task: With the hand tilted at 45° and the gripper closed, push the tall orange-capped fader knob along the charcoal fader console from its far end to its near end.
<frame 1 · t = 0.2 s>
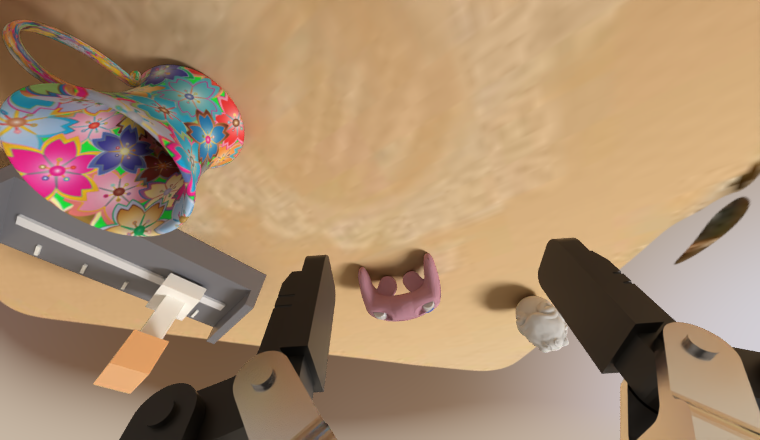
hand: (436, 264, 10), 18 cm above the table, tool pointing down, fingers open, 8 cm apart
fader console: (153, 249, 33), on the table
mug: (187, 102, 24), on the table
fader knob: (154, 329, 28), point 8 cm above the table, slide at 0.0 cm
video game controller: (398, 271, 37), on the table
frog figurine: (527, 299, 41), on the table
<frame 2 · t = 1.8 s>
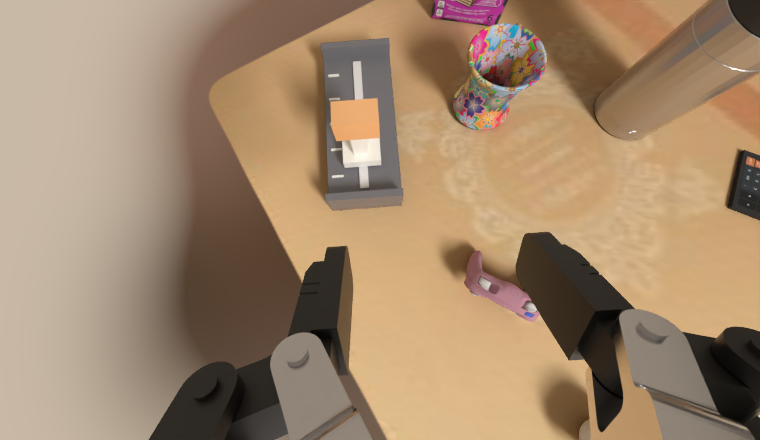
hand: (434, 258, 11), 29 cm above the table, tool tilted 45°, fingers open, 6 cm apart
candy bar box: (465, 14, 48), on the table
fader console: (362, 133, 43), on the table
mug: (481, 102, 44), on the table
fader knob: (358, 135, 34), point 8 cm above the table, slide at 0.0 cm
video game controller: (495, 284, 38), on the table
frog figurine: (589, 434, 34), on the table
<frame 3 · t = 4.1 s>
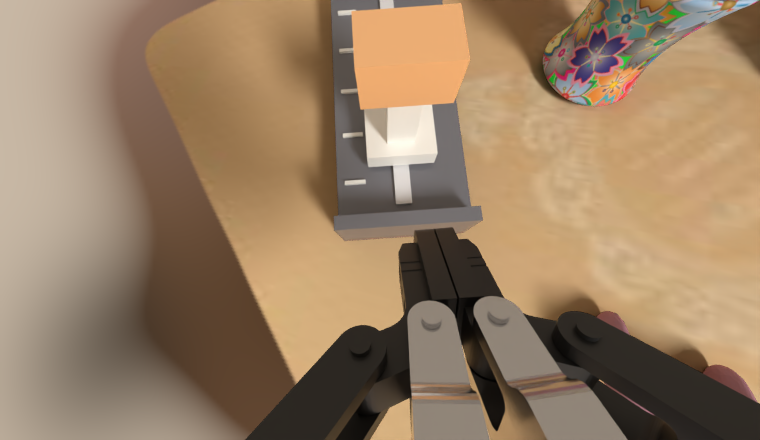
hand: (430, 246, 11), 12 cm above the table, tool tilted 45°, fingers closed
fader console: (393, 110, 26), on the table
mug: (585, 62, 27), on the table
fader knob: (402, 102, 17), point 8 cm above the table, slide at 0.0 cm
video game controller: (640, 371, 21), on the table
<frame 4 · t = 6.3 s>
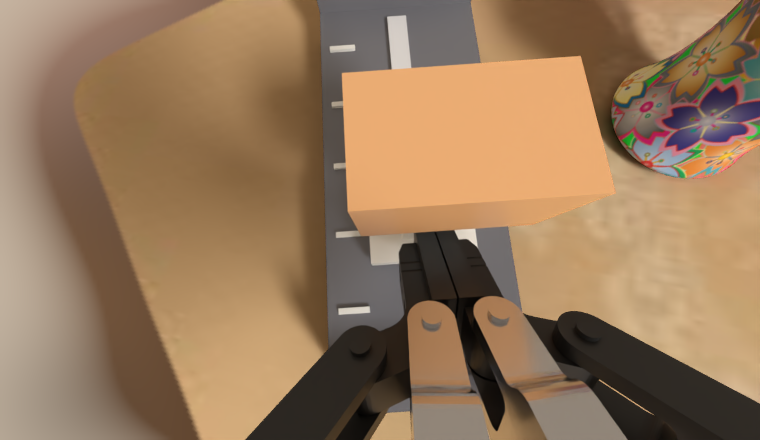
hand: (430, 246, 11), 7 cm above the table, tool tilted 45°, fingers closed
fader console: (406, 180, 19), on the table
mug: (665, 112, 20), on the table
fader knob: (431, 198, 10), point 8 cm above the table, slide at 1.2 cm, touching gripper
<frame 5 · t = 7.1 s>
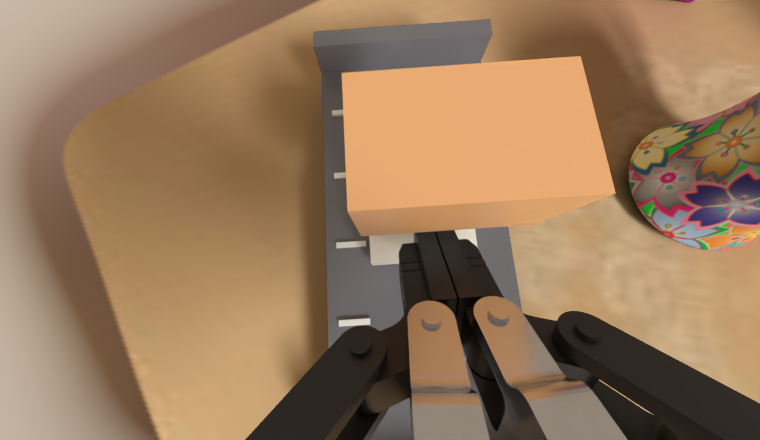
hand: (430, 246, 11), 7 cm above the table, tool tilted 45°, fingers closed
fader console: (412, 246, 18), on the table
mug: (684, 172, 19), on the table
fader knob: (431, 198, 10), point 8 cm above the table, slide at 5.8 cm, touching gripper
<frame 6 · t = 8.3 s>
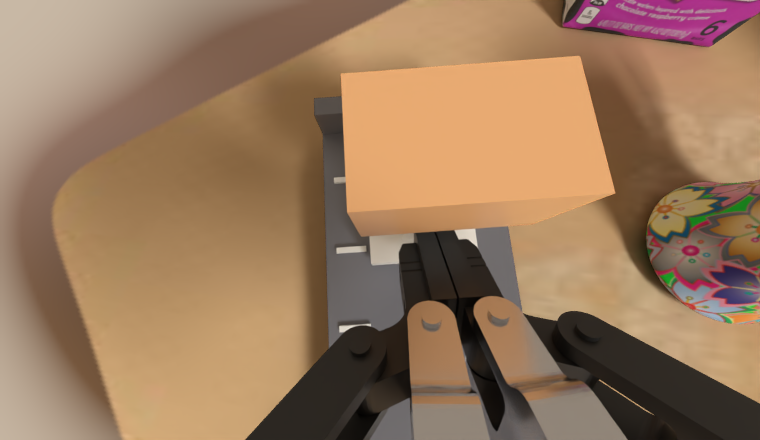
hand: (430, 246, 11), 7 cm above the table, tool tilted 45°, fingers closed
candy bar box: (632, 18, 22), on the table
fader console: (418, 315, 17), on the table
mug: (704, 232, 18), on the table
fader knob: (431, 198, 10), point 8 cm above the table, slide at 10.1 cm, touching gripper
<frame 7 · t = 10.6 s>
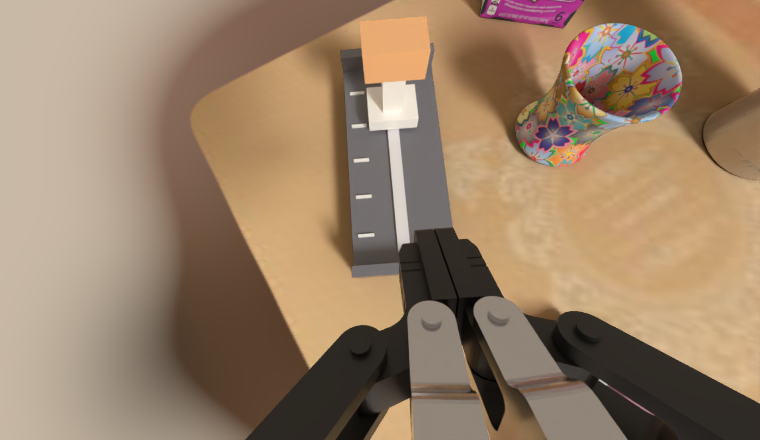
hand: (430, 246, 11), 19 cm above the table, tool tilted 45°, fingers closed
candy bar box: (522, 11, 37), on the table
fader console: (394, 169, 32), on the table
mug: (550, 127, 33), on the table
fader knob: (392, 81, 25), point 8 cm above the table, slide at 10.1 cm
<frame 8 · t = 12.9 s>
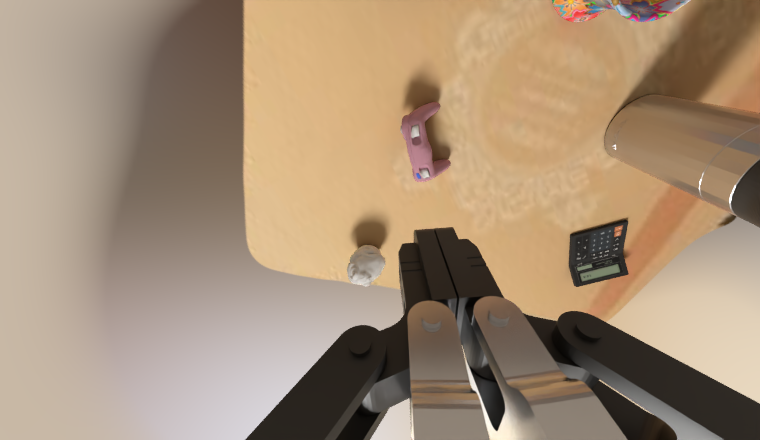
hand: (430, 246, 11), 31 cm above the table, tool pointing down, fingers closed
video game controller: (423, 138, 41), on the table
calculator: (593, 249, 53), on the table
frog figurine: (366, 250, 51), on the table
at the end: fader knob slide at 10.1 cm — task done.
